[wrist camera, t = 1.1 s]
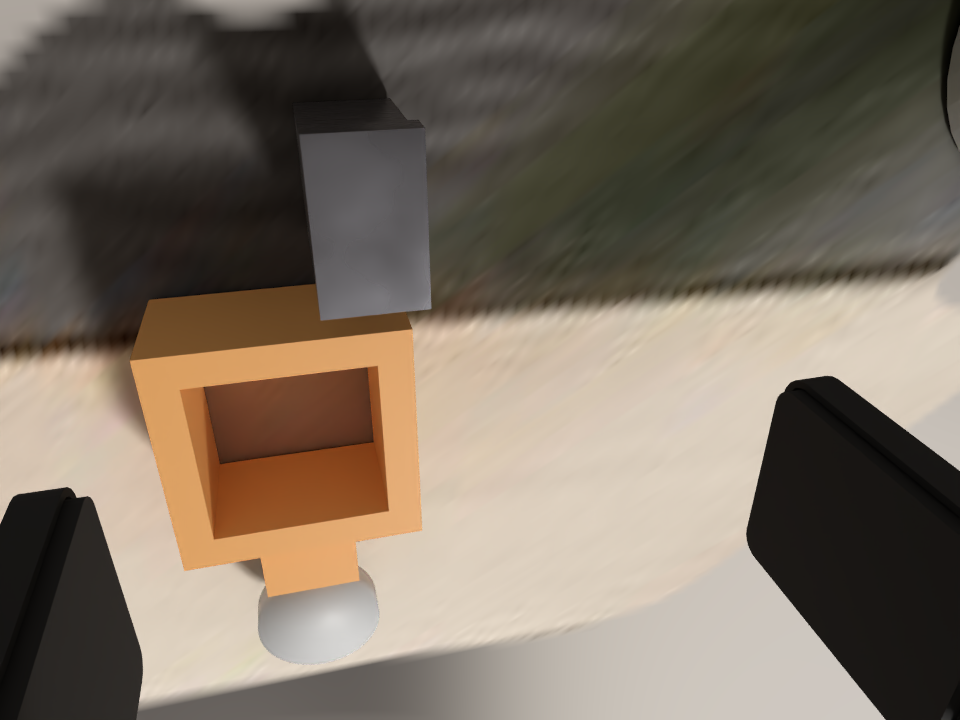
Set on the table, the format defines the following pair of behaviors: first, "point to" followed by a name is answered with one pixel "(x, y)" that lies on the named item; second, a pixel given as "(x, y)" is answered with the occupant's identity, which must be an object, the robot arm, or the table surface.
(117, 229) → the table surface
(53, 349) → the table surface
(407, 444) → the orange handled frame
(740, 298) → the table surface
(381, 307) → the grey rectangular block
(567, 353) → the table surface
